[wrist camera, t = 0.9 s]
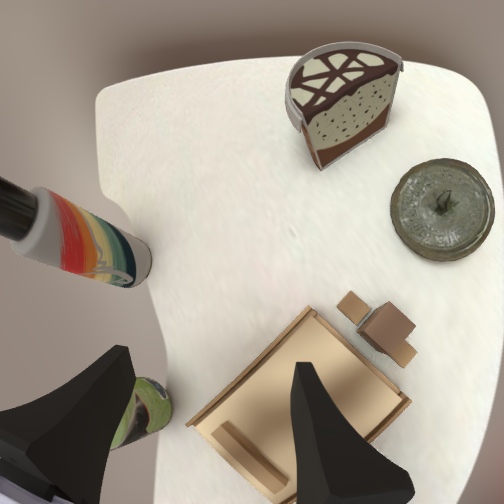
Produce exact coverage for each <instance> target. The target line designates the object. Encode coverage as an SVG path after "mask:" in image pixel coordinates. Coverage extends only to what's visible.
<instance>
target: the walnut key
mask: <svg viewBox="0 0 504 504" xmlns="http://www.w3.org/2000/svg"><path fill="white" fill-rule="evenodd" d="M415 327H416V325H415V324H413V323H412V322H411V321H410V320H409V319H408V318H407V317H406V316H405V315H404V314H403V313H402V312H401V311H400V310H398V309H397V308H396V307H395V306H394V305H393V304H392V303H391V302H390V301H389V302H387V303H385V304H384V305H382V306H380V307H379V308H377V309H376V310H375V311H374V312H373V313H372V314H371V315H370V317H369V318H368V319H367V320H366V321H365V322H364V323H363V325H362V326H361V327H360V328H359V329H358V330H357V331H356V332H357V333H358V334H359V335H360V336H362V337H363V338H364V339H365V340H366V341H367V342H368V343H369V344H370V345H371V346H372V347H373V348H375V349H376V350H377V351H379V352H382V353H384V354H387V355H390V356H391V355H392V354H393V353H394V352H395V351H396V350H397V348H398V347H399V346H400V345H401V344H402V343H403V341H404V340H405V339H406V338H407V337H408V335H409V334H410V333H411V332H412V331H413V329H414V328H415Z"/></svg>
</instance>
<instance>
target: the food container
mask: <svg viewBox="0 0 504 504" xmlns="http://www.w3.org/2000/svg"><path fill="white" fill-rule="evenodd" d="M400 71H401V72H404V69H403V62H402V57H400V56H398V55H397V54H395V53H393V52H391V51H389V50H387V49H384V48H382V47H379V46H376V45H372V44H367V43H360V42H338V43H332V44H328V45H324V46H321V47H318V48H316V49H314V50H312V51H310V52H308V53H306V54H305V55H304V56H302V57H301V58H300V59H299V60H298V61H297V62H296V63H295V64H294V66H293V68H292V69H291V71H290V74H289V76H288V79H287V82H286V90H285V105H286V111H287V114H288V117H289V119H290V121H291V122H292V124H293V126H294V127H295V128H296V129H297V130H298V132H299V133H300V132H301V128H302V131H303V134H304V136H305V139H306V142H307V144H308V147H309V150H310V152H311V155H312V158H313V160H314V162H315V164H316V166H317V167H318V168H319V169H320V171H322V170H324V169H325V168H327V167H328V166H329V165H331V164H332V163H334V162H335V161H337V160H338V159H340V158H341V157H343V156H344V155H346V154H347V153H349V152H350V151H352V150H353V149H355V148H356V147H358V146H359V145H361V144H362V143H364V142H365V141H367V140H368V139H370V138H371V137H373V136H374V135H376V134H377V133H379V132H380V131H382V130H383V129H385V128H386V126H387V122H388V118H389V114H390V110H391V106H392V102H393V98H394V94H395V90H396V85H397V81H398V77H399V72H400Z"/></svg>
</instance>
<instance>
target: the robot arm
mask: <svg viewBox="0 0 504 504" xmlns="http://www.w3.org/2000/svg"><path fill="white" fill-rule="evenodd" d="M135 382H136V376H135V372H134V369H133V365H132V361H131V357H130V353H129V349H128V347H126V346H120V345H115V346H114V347H112V348H111V349H110V350H108V351H107V352H106V353H105V354H104V355H102V356H101V357H100V358H99V359H98V360H96V361H95V362H94V363H93V364H91V365H90V366H89V367H88V368H86V369H85V370H84V371H82V372H81V373H80V374H78V375H77V376H76V377H74V378H73V379H71V380H70V381H69V382H68V383H66V384H64V385H63V386H61V387H59V388H58V389H56V390H54V391H52V392H51V393H49V394H47V395H45V396H43V397H41V398H38V399H37V400H34V401H32V402H30V403H27V404H24V405H22V406H19V407H16V408H12V409H9V410H5V411H1V412H0V457H1V458H0V504H99V502H100V493H101V487H102V480H103V476H104V471H105V467H106V462H107V458H108V454H109V451H110V447H111V444H112V441H113V438H114V436H115V433H116V431H117V429H118V426H119V424H120V422H121V420H122V417H123V415H124V413H125V411H126V408H127V406H128V404H129V401H130V399H131V396H132V393H133V390H134V386H135ZM290 414H291V422H292V430H293V438H294V446H295V453H296V464H297V502H296V504H407V503H408V502H409V501H410V500H411V499H412V498H413V496H414V495H415V490H414V486H413V483H412V480H411V478H410V476H409V474H408V472H407V471H406V470H404V469H402V468H401V467H399V466H398V465H396V464H394V463H393V462H391V461H390V460H389V459H387V458H386V457H385V456H383V455H382V454H381V453H379V452H378V451H377V450H376V449H375V448H374V447H373V446H372V445H370V444H369V443H368V442H367V441H366V440H365V439H364V438H363V437H362V436H361V435H360V434H359V433H358V432H357V431H356V430H355V429H354V428H353V426H352V425H351V424H350V423H349V422H348V421H347V419H346V418H345V417H344V416H343V414H342V413H341V411H340V410H339V409H338V407H337V406H336V404H335V403H334V402H333V400H332V398H331V397H330V395H329V394H328V392H327V390H326V389H325V387H324V385H323V384H322V382H321V380H320V378H319V376H318V374H317V372H316V370H315V368H314V366H313V364H312V363H311V362H296V365H295V370H294V376H293V382H292V387H291V393H290Z"/></svg>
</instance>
